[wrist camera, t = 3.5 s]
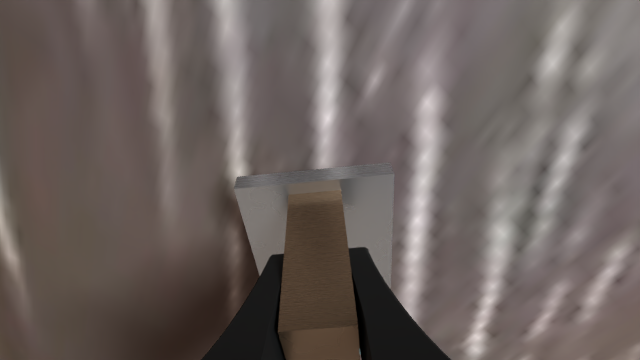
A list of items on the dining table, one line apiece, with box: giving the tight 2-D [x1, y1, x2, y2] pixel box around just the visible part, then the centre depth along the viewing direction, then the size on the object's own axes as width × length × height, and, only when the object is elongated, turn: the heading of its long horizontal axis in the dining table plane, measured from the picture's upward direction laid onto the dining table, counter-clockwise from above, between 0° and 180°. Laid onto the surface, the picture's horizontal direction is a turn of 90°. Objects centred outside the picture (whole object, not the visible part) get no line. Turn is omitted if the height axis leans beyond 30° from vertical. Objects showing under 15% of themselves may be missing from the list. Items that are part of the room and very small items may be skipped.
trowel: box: [234, 163, 394, 360], centre depth 13 cm, size 6×7×6 cm
